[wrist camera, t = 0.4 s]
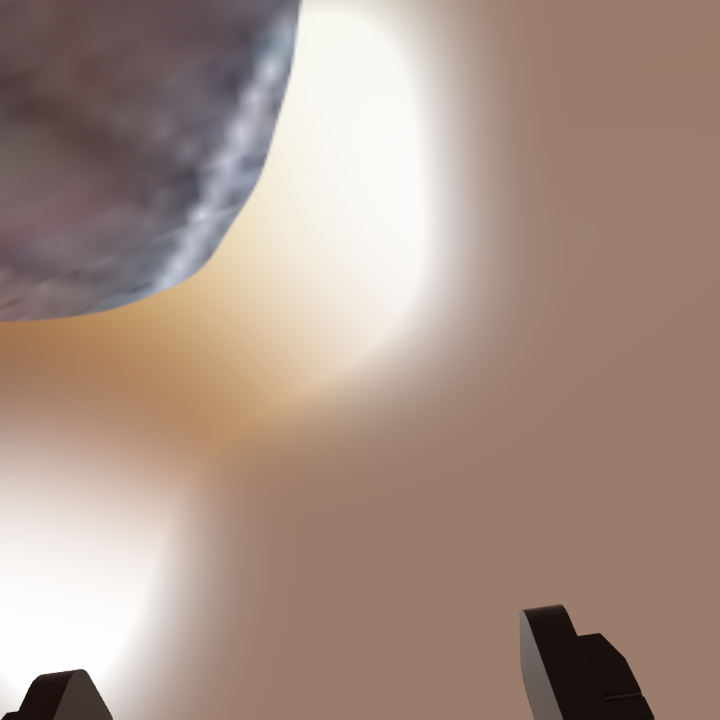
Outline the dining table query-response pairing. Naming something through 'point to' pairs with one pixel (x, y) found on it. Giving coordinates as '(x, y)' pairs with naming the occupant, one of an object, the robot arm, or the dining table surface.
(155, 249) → the dining table surface
